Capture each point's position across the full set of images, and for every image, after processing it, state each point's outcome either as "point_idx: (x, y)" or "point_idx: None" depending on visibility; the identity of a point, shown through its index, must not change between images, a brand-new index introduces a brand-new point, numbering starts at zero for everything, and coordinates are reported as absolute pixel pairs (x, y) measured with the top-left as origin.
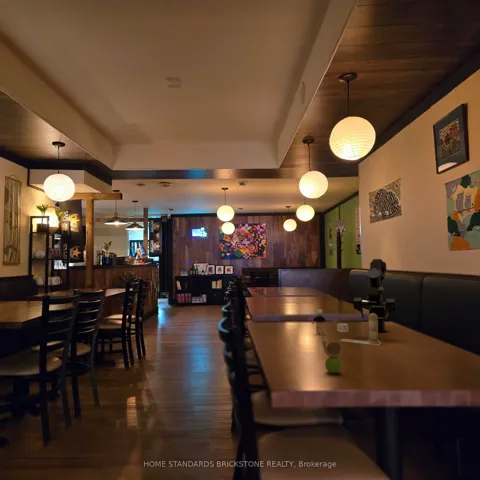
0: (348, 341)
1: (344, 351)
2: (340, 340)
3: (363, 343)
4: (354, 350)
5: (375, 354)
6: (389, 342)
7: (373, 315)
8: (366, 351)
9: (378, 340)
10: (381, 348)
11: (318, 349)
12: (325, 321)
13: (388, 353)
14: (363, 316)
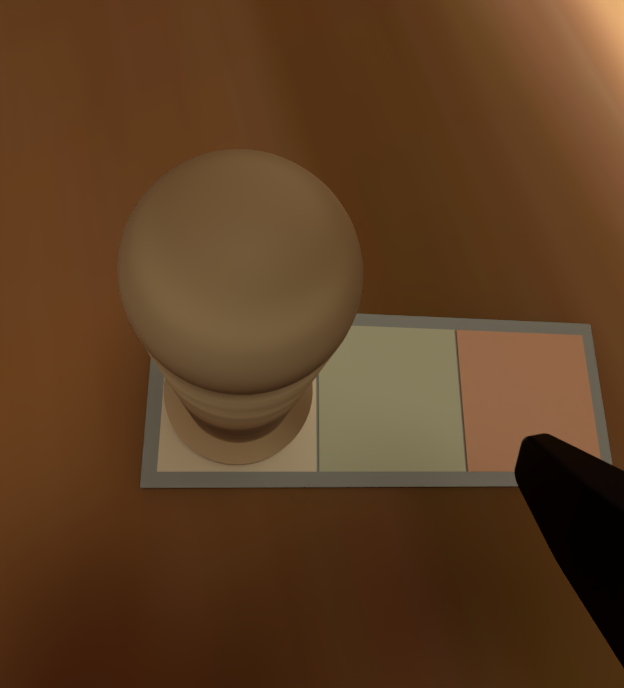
0: (497, 348)
1: (386, 15)
2: (581, 357)
3: None
4: (331, 72)
5: (141, 9)
6: (79, 637)
7: (208, 153)
8: (232, 76)
9: (185, 421)
10: None
11: (566, 7)
12: None
13: (37, 78)
14: (544, 470)
